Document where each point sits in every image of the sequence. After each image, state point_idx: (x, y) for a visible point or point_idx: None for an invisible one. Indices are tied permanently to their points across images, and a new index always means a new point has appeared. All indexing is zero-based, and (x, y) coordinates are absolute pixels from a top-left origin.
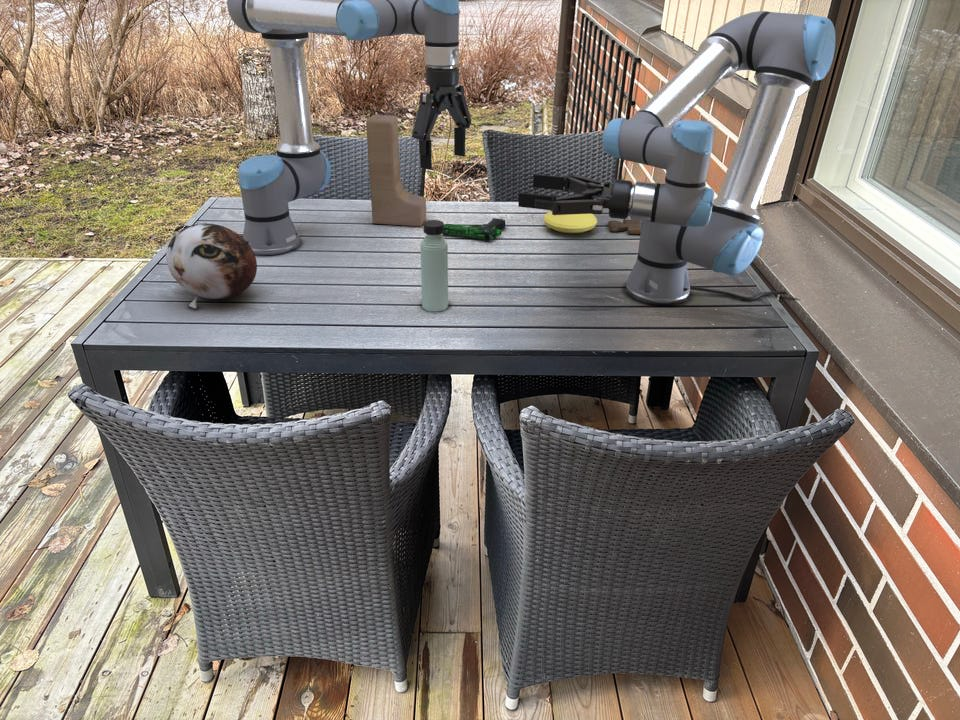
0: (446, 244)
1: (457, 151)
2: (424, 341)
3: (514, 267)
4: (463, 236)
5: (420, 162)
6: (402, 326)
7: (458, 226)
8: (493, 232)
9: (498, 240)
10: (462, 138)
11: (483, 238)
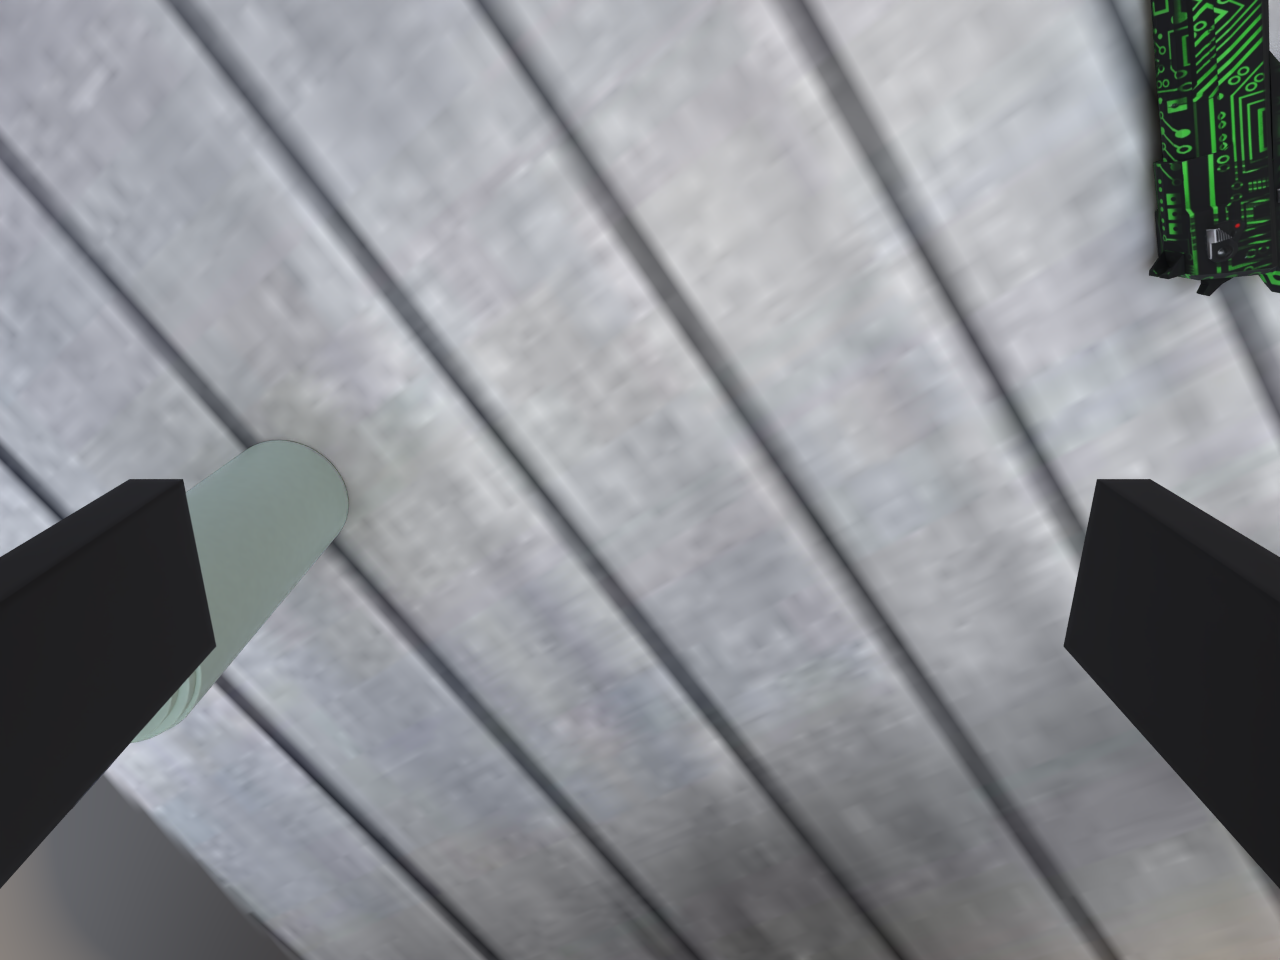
0: (151, 736)
1: (1124, 571)
2: None
3: (877, 563)
4: (1158, 81)
5: (78, 513)
6: (43, 499)
7: (1234, 3)
8: (1230, 275)
9: (1207, 296)
10: (1270, 847)
11: (1162, 231)
